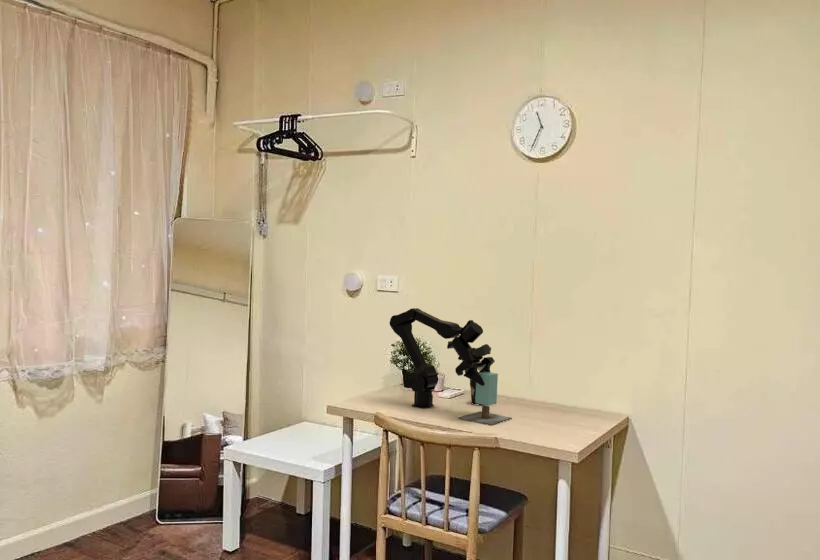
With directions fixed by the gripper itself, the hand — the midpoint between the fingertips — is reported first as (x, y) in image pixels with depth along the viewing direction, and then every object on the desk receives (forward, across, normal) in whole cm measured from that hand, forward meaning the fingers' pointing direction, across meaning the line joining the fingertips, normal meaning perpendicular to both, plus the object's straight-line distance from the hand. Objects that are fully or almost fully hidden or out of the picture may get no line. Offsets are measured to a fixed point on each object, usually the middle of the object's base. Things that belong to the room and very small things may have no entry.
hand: (488, 384), depth 244 cm
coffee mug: (-3, +22, +22) cm, 32 cm away
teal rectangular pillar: (+5, 0, +5) cm, 7 cm away
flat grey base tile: (+9, 0, +10) cm, 13 cm away
